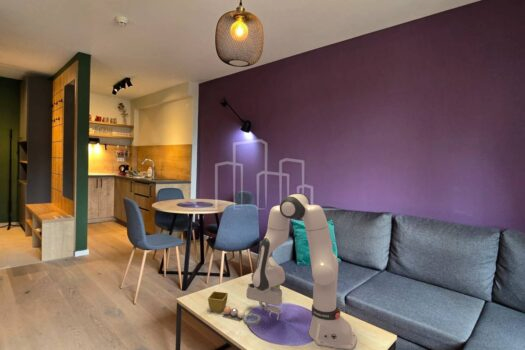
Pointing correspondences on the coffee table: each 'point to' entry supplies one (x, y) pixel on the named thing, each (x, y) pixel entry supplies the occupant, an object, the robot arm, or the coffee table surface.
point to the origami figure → (274, 310)
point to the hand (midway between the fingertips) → (263, 309)
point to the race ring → (252, 321)
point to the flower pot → (217, 301)
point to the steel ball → (234, 312)
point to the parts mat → (232, 317)
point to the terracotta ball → (227, 310)
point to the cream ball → (241, 314)
